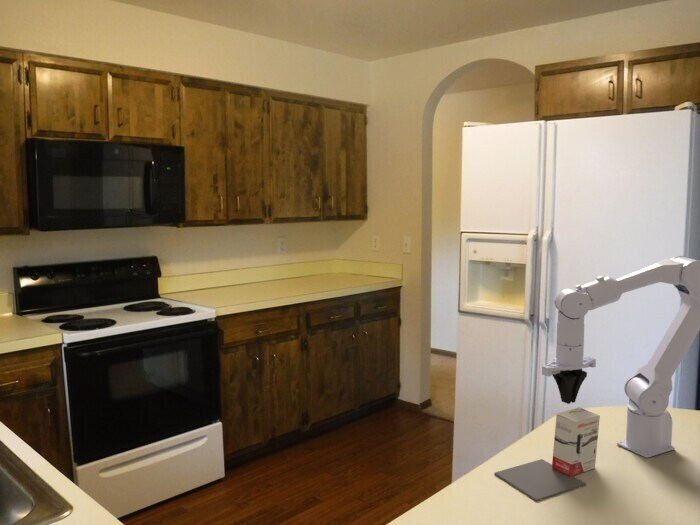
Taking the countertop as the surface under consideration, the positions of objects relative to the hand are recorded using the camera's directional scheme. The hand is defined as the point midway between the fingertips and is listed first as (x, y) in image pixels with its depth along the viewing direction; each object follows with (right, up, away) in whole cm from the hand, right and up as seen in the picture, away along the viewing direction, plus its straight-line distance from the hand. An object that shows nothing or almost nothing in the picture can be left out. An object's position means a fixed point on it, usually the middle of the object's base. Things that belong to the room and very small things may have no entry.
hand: (568, 401), depth 133 cm
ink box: (-3, -12, -10) cm, 16 cm away
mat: (-11, -12, -14) cm, 22 cm away
